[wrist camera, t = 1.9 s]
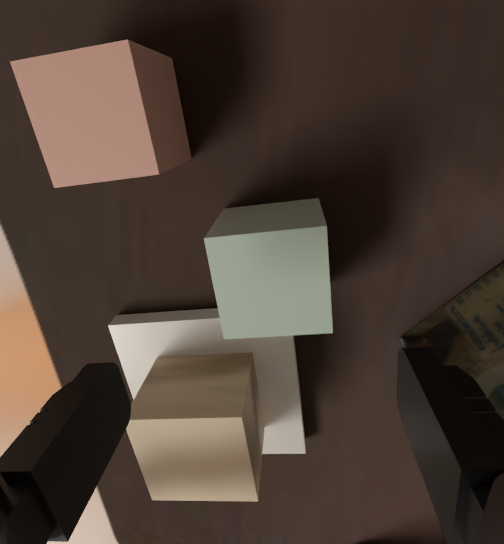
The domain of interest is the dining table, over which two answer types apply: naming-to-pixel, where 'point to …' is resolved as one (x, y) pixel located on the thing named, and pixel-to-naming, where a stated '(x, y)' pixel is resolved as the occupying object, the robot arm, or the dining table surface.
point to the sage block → (271, 270)
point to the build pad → (209, 340)
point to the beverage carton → (470, 334)
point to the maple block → (199, 428)
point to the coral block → (104, 112)
